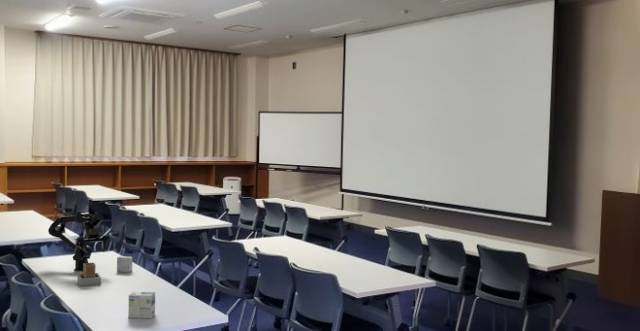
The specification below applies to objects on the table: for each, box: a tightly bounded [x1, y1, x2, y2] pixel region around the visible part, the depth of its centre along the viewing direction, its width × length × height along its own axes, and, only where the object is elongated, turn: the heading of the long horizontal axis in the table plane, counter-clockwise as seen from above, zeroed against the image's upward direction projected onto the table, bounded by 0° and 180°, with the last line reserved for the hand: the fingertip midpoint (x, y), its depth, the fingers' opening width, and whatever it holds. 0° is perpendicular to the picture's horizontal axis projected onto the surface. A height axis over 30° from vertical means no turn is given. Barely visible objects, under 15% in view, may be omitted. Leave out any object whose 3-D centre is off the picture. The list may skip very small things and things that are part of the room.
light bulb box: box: [127, 291, 156, 319], centre depth 260 cm, size 11×7×11 cm, turn 92°
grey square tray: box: [77, 272, 102, 287], centre depth 313 cm, size 11×11×4 cm
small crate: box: [82, 262, 96, 278], centre depth 313 cm, size 6×6×10 cm
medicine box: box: [116, 255, 133, 273], centre depth 342 cm, size 8×4×9 cm, turn 84°
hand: (95, 252), depth 329 cm, fingers open, 9 cm apart
